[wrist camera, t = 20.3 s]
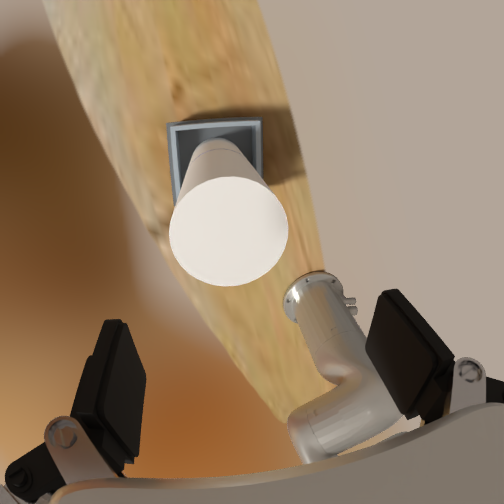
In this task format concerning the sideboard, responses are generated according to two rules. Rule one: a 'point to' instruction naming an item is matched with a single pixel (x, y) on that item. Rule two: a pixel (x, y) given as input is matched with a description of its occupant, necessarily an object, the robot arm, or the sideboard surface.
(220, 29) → the sideboard surface
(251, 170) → the cylindrical container
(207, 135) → the grey open box
